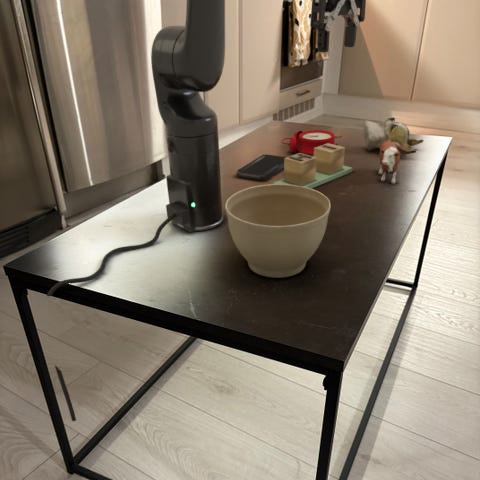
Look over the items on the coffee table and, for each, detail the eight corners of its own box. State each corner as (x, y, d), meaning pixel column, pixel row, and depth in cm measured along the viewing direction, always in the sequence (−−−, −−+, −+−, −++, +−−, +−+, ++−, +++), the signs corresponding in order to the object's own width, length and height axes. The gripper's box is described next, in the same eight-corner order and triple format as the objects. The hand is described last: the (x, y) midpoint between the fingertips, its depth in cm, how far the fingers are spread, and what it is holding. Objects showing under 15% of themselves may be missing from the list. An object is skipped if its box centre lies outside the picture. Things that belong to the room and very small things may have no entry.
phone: (234, 172, 118) (264, 153, 129) (235, 176, 119) (264, 158, 129) (264, 176, 115) (292, 157, 125) (264, 181, 115) (292, 162, 126)
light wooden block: (300, 185, 110) (301, 162, 107) (283, 180, 113) (284, 157, 110) (315, 179, 113) (316, 156, 110) (298, 174, 116) (299, 151, 113)
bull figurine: (375, 188, 110) (380, 151, 105) (377, 168, 121) (381, 133, 116) (396, 189, 109) (402, 151, 105) (396, 169, 120) (401, 134, 115)
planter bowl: (208, 266, 84) (203, 204, 78) (273, 234, 93) (274, 177, 87) (280, 302, 74) (281, 235, 68) (345, 263, 83) (352, 200, 77)
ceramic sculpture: (371, 108, 133) (429, 117, 127) (365, 141, 138) (421, 151, 132) (359, 118, 125) (421, 128, 120) (354, 153, 130) (412, 163, 125)
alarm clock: (338, 143, 126) (281, 126, 127) (331, 167, 130) (276, 150, 131) (344, 132, 134) (290, 116, 136) (336, 155, 138) (284, 139, 139)
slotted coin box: (329, 174, 115) (331, 151, 112) (312, 169, 118) (314, 147, 115) (343, 168, 118) (345, 146, 115) (326, 164, 121) (328, 142, 118)
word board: (295, 195, 108) (295, 190, 108) (272, 187, 113) (272, 182, 112) (352, 171, 119) (352, 167, 119) (329, 165, 124) (329, 161, 123)
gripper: (350, -48, 100) (343, 44, 110) (302, -47, 93) (299, 52, 102) (382, -50, 96) (372, 46, 105) (335, -49, 88) (328, 55, 98)
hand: (336, 49), depth 104 cm, fingers open, 8 cm apart
